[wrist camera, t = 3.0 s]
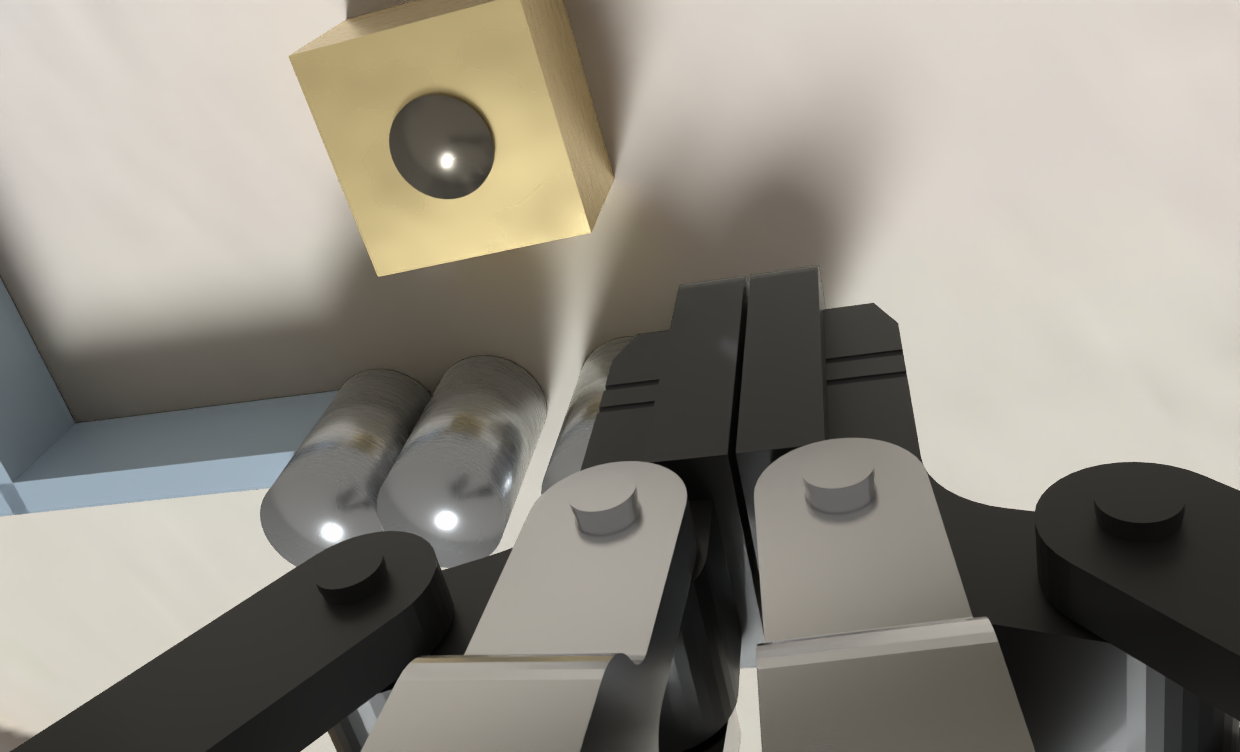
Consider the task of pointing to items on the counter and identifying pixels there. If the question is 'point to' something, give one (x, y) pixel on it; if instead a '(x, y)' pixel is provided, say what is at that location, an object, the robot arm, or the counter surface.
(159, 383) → the counter surface
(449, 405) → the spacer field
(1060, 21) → the counter surface
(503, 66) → the yellow knobbed block
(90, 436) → the parts bay
